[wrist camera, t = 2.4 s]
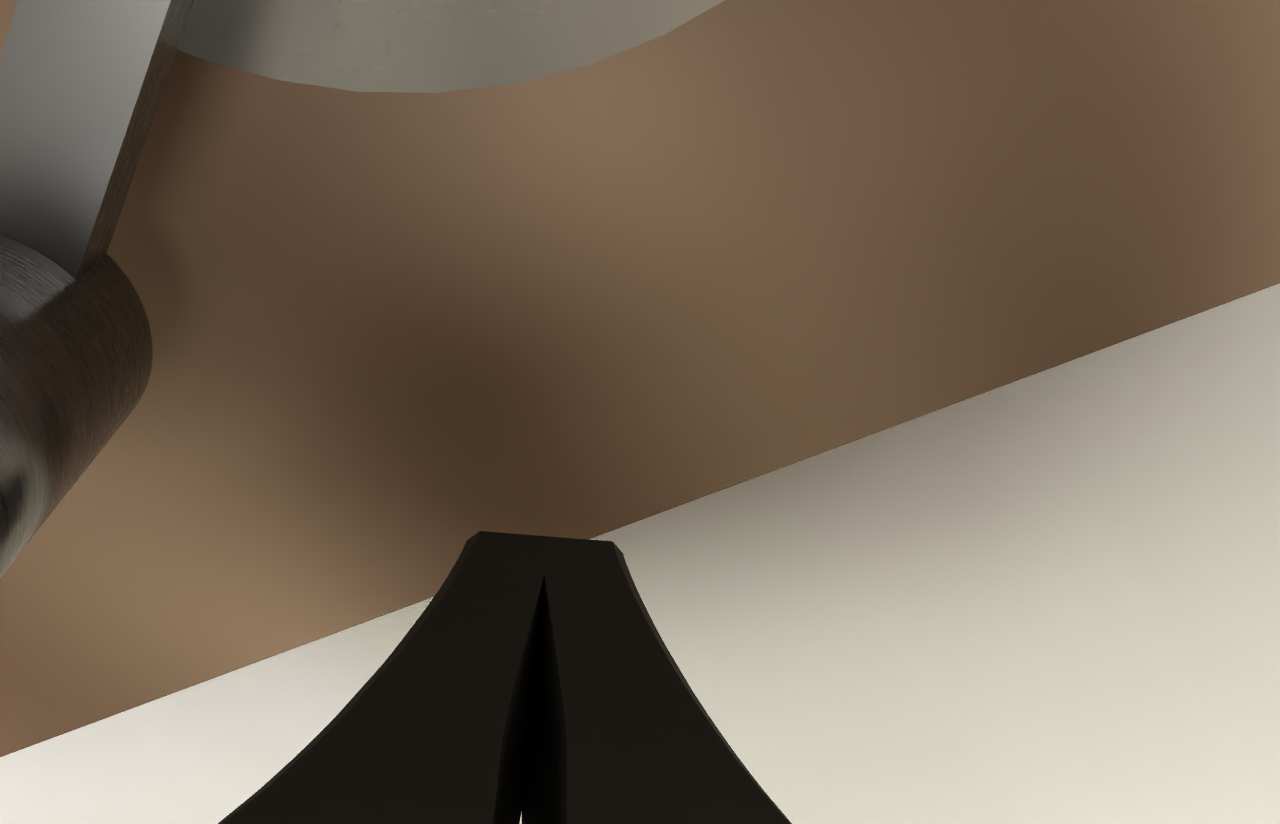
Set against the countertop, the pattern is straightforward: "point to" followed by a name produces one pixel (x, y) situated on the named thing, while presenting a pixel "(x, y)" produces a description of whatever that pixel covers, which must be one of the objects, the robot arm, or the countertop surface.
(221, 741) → the countertop surface
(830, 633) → the countertop surface
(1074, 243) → the plate
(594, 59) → the dial
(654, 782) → the robot arm
